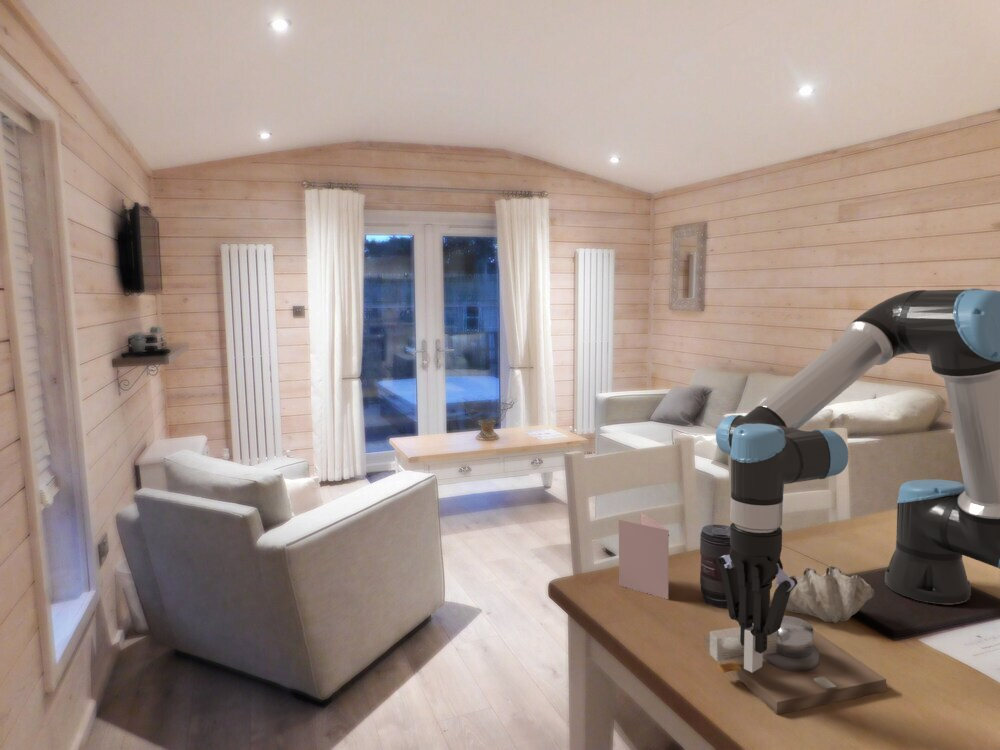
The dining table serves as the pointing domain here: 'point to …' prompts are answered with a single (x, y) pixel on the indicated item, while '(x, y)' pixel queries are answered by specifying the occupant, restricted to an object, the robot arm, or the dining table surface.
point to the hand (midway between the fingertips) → (753, 667)
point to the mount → (806, 677)
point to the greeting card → (644, 556)
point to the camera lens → (713, 563)
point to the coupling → (786, 641)
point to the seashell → (829, 595)
